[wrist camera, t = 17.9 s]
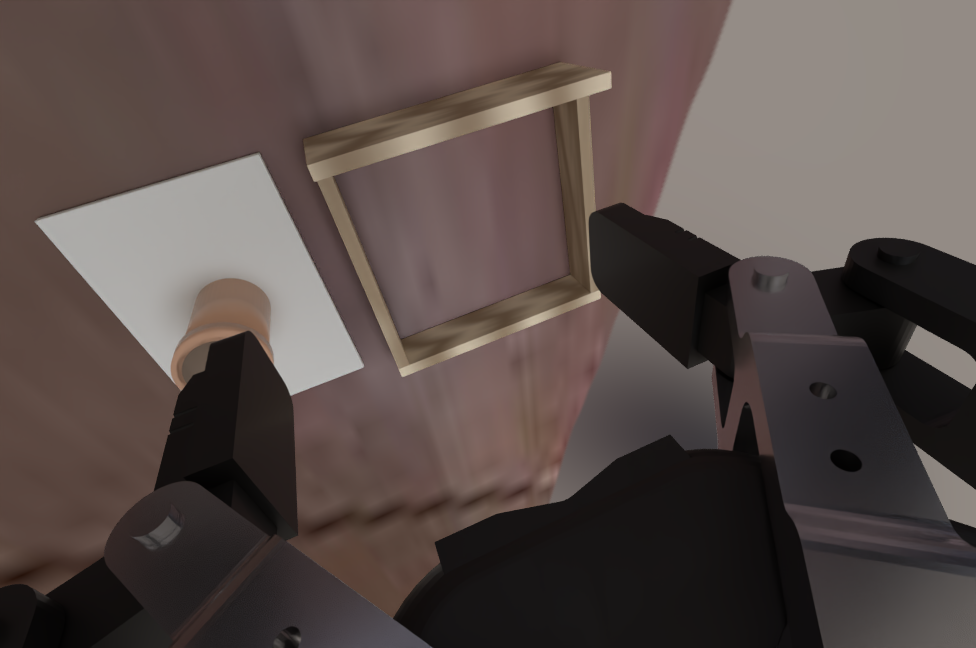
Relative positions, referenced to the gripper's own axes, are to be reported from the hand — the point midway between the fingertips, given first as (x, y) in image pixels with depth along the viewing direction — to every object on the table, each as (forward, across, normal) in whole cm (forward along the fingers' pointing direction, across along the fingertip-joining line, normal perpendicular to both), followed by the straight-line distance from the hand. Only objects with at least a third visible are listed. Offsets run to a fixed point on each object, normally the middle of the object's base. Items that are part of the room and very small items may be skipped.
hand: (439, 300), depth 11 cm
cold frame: (+27, -8, +11) cm, 30 cm away
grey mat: (+27, +12, +12) cm, 32 cm away
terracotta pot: (+27, +12, +12) cm, 32 cm away
